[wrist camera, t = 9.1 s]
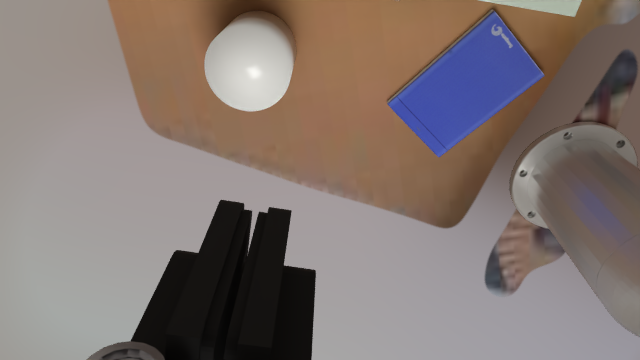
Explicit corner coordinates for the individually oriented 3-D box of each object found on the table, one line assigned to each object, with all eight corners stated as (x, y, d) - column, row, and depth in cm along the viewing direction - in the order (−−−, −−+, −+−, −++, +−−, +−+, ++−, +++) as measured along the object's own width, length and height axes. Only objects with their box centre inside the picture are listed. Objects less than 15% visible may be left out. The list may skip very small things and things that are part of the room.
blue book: (495, 10, 40) (387, 105, 45) (546, 76, 43) (439, 159, 47) (490, 8, 41) (386, 99, 46) (539, 71, 44) (436, 152, 49)
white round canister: (301, 17, 42) (295, 33, 36) (291, 90, 45) (285, 117, 39) (224, 4, 41) (205, 18, 35) (220, 79, 45) (203, 104, 39)
